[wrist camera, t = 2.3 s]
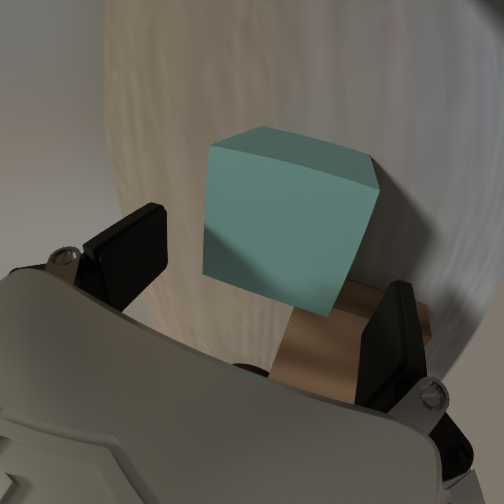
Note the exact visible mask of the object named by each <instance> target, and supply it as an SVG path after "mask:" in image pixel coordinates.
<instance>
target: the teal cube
mask: <svg viewBox="0 0 504 504" xmlns="http://www.w3.org/2000/svg"><path fill="white" fill-rule="evenodd" d="M379 192H380V189H379V185H378V182H377V178H376V175H375V171H374V168H373V165H372V161H371V158H370V155H368V154H365V153H362V152H359V151H356V150H353V149H350V148H346V147H343V146H340V145H336V144H333V143H329V142H326V141H322V140H318V139H315V138H311V137H307V136H303V135H299V134H294V133H290V132H286V131H281V130H276V129H272V128H267V127H262V126H261V127H258V128H255V129H252V130H249V131H246V132H244V133H241V134H238V135H235V136H233V137H230V138H227V139H225V140H222V141H220V142H217V143H214V144H212V145H210V146H209V158H208V171H207V185H206V202H205V220H204V244H203V274H204V275H206V276H209V277H212V278H214V279H217V280H220V281H223V282H225V283H228V284H231V285H234V286H236V287H239V288H242V289H245V290H248V291H251V292H253V293H256V294H259V295H262V296H265V297H268V298H271V299H274V300H277V301H280V302H283V303H286V304H289V305H292V306H295V307H298V308H301V309H304V310H307V311H310V312H313V313H316V314H319V315H322V316H325V317H328V315H329V313H330V311H331V309H332V307H333V305H334V303H335V300H336V298H337V296H338V294H339V292H340V290H341V288H342V285H343V283H344V281H345V279H346V276H347V274H348V272H349V269H350V267H351V265H352V262H353V260H354V258H355V255H356V253H357V250H358V248H359V246H360V243H361V241H362V238H363V236H364V233H365V230H366V228H367V225H368V222H369V220H370V217H371V214H372V212H373V209H374V206H375V203H376V200H377V198H378V195H379Z"/></svg>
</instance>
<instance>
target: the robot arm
mask: <svg viewBox="0 0 504 504" xmlns="http://www.w3.org/2000/svg"><path fill="white" fill-rule="evenodd" d="M83 250H84V253H82V254H81V252H80V250H79V249H78V248H76V247H71V246H69V247H68V246H67V247H63V248H60V249H58V250H56V251H54V252H53V253H52V254H51V255H50V257H49V259H48V262H47V263H46V264H40V265H33V266H27V267H21V268H15V269H13V270H12V271H11V272H10V273H9V274H8V275H7V276H6V277H5V278H3V279H2V280H0V504H485V501H484V498H483V494H482V491H481V488H480V485H479V481H478V478H477V476H476V473H475V470H474V469H473V470H470V467H471V465H472V462H473V458H474V453H473V449H472V446H471V444H470V442H469V441H468V440H467V438H466V437H465V436H464V434H463V433H462V432H461V431H460V429H459V428H458V427H457V426H456V424H455V423H454V422H453V420H452V419H451V418H450V417H449V415H448V414H447V413H446V410H447V408H448V406H449V394H448V391H447V389H446V387H445V386H444V385H443V383H442V382H440V381H439V380H438V379H436V378H434V377H427V368H426V359H425V351H424V344H423V337H422V331H421V325H420V323H419V318H418V312H417V307H416V302H415V297H414V293H413V288H412V285H411V284H410V283H408V282H405V281H402V280H399V279H398V280H397V281H396V282H391V283H390V285H389V287H388V289H387V290H386V292H385V294H384V296H383V298H382V299H381V301H380V303H379V305H378V307H377V308H376V310H375V312H374V313H373V315H372V317H371V318H370V320H369V322H368V323H367V325H366V327H365V328H364V330H363V332H362V336H361V345H360V358H359V368H358V377H357V386H356V394H355V401H354V404H351V403H347V402H343V401H340V400H336V399H332V398H329V397H326V396H322V395H319V394H315V393H312V392H309V391H306V390H302V389H299V388H296V387H293V386H290V385H286V384H283V383H280V382H277V381H275V380H272V379H269V378H266V377H263V376H260V375H258V374H255V373H252V372H250V371H247V370H244V369H242V368H239V367H237V366H234V365H231V364H229V363H226V362H224V361H222V360H219V359H217V358H214V357H212V356H210V355H207V354H205V353H203V352H200V351H198V350H196V349H194V348H191V347H189V346H187V345H185V344H183V343H180V342H178V341H176V340H174V339H172V338H170V337H168V336H166V335H164V334H162V333H160V332H158V331H156V330H154V329H152V328H150V327H148V326H146V325H144V324H142V323H140V322H138V321H136V320H134V319H132V318H131V317H129V316H127V315H125V314H123V313H121V312H122V311H123V310H124V309H125V308H126V307H127V306H128V305H129V304H130V303H131V302H132V301H133V300H134V299H135V298H136V297H137V296H138V295H139V294H140V293H141V292H142V291H143V290H144V289H145V288H146V287H147V286H148V285H149V284H150V283H151V282H152V281H153V280H154V279H155V278H156V277H158V276H159V275H160V274H161V273H162V272H163V271H164V270H165V269H166V267H167V264H168V252H167V212H166V210H165V209H164V206H163V205H160V204H156V203H152V202H150V203H148V204H146V205H145V206H143V207H141V208H140V209H138V210H136V211H135V212H133V213H131V214H130V215H128V216H126V217H125V218H123V219H121V220H120V221H118V222H117V223H115V224H113V225H112V226H110V227H109V228H108V229H106V230H104V231H103V232H101V233H100V234H98V235H97V236H95V237H94V238H92V239H91V240H89V241H88V242H86V243H85V244H83Z"/></svg>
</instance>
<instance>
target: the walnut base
mask: <svg viewBox="0 0 504 504" xmlns="http://www.w3.org/2000/svg"><path fill="white" fill-rule="evenodd" d="M384 294H385V292H384V291H381V290H378V289H375V288H372V287H369V286H366V285H363V284H360V283H357V282H354V281H351V280H347V279H345V281H344V283H343V285H342V288H341V290H340V292H339V294H338V296H337V298H336V300H335V303H334V305H333V307H332V309H331V311H330V313H329V315H328V317H325V316H322V315H319V314H316V313H313V312H310V311H307V310H304V309H301V308H298V307H295V306H294V309H293V312H292V314H291V317H290V320H289V323H288V325H287V328H286V331H285V333H284V336H283V339H282V341H281V344H280V347H279V349H278V352H277V355H276V357H275V360H274V362H273V365H272V368H271V370H270V373H269V375H268V378H269V379H272V380H275V381H277V382H280V383H283V384H286V385H290V386H293V387H296V388H299V389H302V390H306V391H309V392H312V393H316V394H319V395H323V396H327V397H330V398H334V399H338V400H342V401H346V402H351V403H354V401H355V394H356V386H357V377H358V368H359V358H360V345H361V336H362V332H363V330H364V328H365V327H366V325H367V323H368V322H369V320H370V318H371V317H372V315H373V313H374V312H375V310H376V308H377V307H378V305H379V303H380V301H381V299H382V298H383V296H384ZM416 307H417V312H418V318H419V323H420V325H421V331H422V337H423V344H424V346H425V344H426V343H427V342H428V341H429V340H430V339H431V330H430V324H429V318H428V313H427V307H426V305H424V304H421V303H418V302H416Z"/></svg>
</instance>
